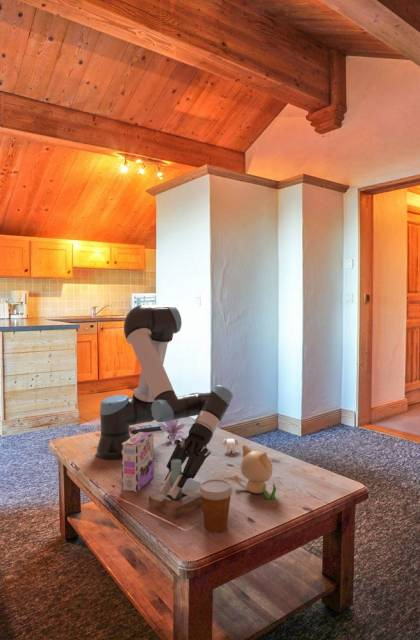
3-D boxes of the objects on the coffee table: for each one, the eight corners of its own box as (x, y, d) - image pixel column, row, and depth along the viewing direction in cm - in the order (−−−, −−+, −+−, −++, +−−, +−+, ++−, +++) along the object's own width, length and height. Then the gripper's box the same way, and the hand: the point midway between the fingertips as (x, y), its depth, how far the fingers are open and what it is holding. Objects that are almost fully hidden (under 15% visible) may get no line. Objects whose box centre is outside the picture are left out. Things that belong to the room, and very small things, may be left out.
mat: (160, 485, 152) (160, 484, 152) (181, 476, 160) (181, 475, 160) (185, 496, 144) (185, 494, 144) (206, 486, 152) (206, 484, 152)
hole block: (149, 507, 136) (148, 496, 136) (176, 494, 145) (176, 484, 145) (176, 520, 129) (176, 508, 128) (203, 505, 138) (203, 494, 137)
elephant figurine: (238, 448, 188) (237, 435, 188) (239, 455, 180) (239, 441, 180) (222, 449, 188) (222, 435, 188) (223, 456, 180) (223, 441, 180)
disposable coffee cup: (198, 519, 129) (197, 479, 129) (230, 517, 130) (230, 477, 129) (200, 536, 120) (199, 493, 119) (234, 535, 121) (234, 492, 120)
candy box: (137, 493, 146) (136, 444, 145) (121, 491, 148) (120, 443, 147) (154, 477, 160) (154, 432, 159) (139, 475, 161) (139, 430, 160)
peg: (169, 499, 137) (168, 461, 136) (176, 495, 139) (176, 458, 138) (176, 502, 135) (176, 463, 134) (184, 498, 137) (183, 460, 136)
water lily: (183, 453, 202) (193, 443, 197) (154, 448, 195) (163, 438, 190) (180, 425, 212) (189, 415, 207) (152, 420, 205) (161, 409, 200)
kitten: (284, 494, 145) (285, 450, 144) (264, 504, 138) (264, 457, 137) (251, 480, 156) (251, 439, 155) (231, 489, 149) (231, 445, 149)
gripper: (228, 439, 142) (192, 508, 130) (191, 429, 153) (156, 492, 141) (217, 426, 138) (179, 496, 126) (180, 417, 148) (143, 481, 137)
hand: (167, 494), depth 134 cm, fingers closed on peg, 3 cm apart
